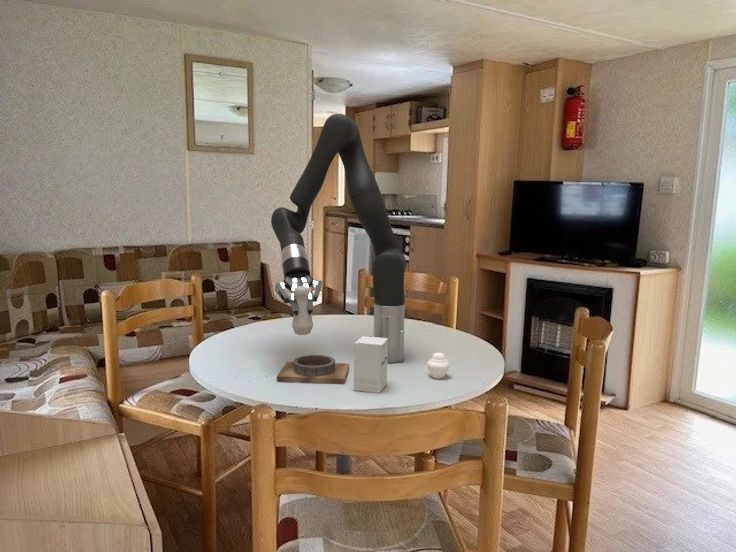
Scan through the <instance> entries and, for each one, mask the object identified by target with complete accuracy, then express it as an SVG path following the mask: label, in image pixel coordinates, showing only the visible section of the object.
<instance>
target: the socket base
mask: <svg viewBox="0 0 736 552" xmlns="http://www.w3.org/2000/svg"><path fill="white" fill-rule="evenodd" d="M348 370H350V363H343V362H336V359H334V358H333V357H331V356H328V355H323V354H308V355H303V356H299V357H296V358H295V359H294V360H293V361H286V362H285V364H284V365H283V367H282V368H281V370H280V371H279V372H278V374H277V375H276V382H277V381H278V382H277V383H295V382H301V383H302V384H327V385H329V384H331V385H345V383H346V380H347V378H348V373H349V371H348Z"/></svg>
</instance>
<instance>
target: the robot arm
mask: <svg viewBox="0 0 736 552" xmlns="http://www.w3.org/2000/svg"><path fill="white" fill-rule="evenodd" d="M354 120H355V119H352V118H351V117H350V116H348V115H346V114H343V113H333V114H331V115H330V116H329V117H327V119H325V122H324V124H323V125H322V128H321V132H320V133H319V137H318V139H317V142H316V145H315V147H314V150H313V152H312V153H311V156H310V158H309V161H308V163H306V164H307V165H306V166H305V169H304V171H303V172H302V174H301V176H300V177H299V179H298V181H297V183H296V184H295V186H294V188H293V190H292V192H291V193H290V195H289V200H290V202H291V203H292V204H293V205H295V206H297V209H296V211H293V210H291V209H289V208H286V207H277V208H276V209H275V210H274V211H273V212H272V213H271V214H272V215H271V219H270V220H271V221H270V223H271V227H272V230H273V232H274V234H275V236H276V238H277V240H278V242H279V247H280V253H281V256H280V257H281V267H282V272H283V281H282V282H275V286H274V291H275V292H276V293H277V294H278V296H279V297H280V299H281V300H282V302H283V303H284V304H289V305H290V306H291V313H292V314H293V315H294V314H295V316H297V315H298V305H297V301H296V296H295V295H294V288H295V287H298V286H306V287H308V288H309V290H310V289H311V287H313V288H314V292H313V294H312V293H311V292H310V293H309V295H308V301H309V302H308V314H309V315H311V316H312V313H313V312H314V304H313V303H314V302H315V303H316V302H317V301H318V299H319V295H320V292H321V290H322V286H323V281H322V280H318V281H316V280H314V278H313V277H312V275H311V269H310V265H309V264H310V263H309V259H308V253H307V251H306V246H305V239H304V238H303V235H302V233H303V232H304V231H305V230H306V229H305V228H306V226H307V222H308V218H309V214H310V211H311V207H312V205H313V204H314V202H315V200H316V199H317V197H318V195H319V193H320V191H321V189H322V188H323V185H324V183H325V179H326V177H327V175H328V174H327V173H328V171H329V168H330V166H331V163H332V162H333V161H334V159H335V158H336V156H337V154H338V155H339V157H340V160H341V163H342V165H343V168H344V174H345V175H344V176H345V182H346V183H345V184H346V189H347V193H348V196H349V197H348V198H349V200H350V203H351V205H352V209H353V210H354V214H355V215H356V218H357V220H358V221H359V222H360V224H361V226H362V228H363V229H364V231H365V233H366V234H367V236H368V237H369V240H370V242H371V245H372V248H373V252H374V254H375V255H374V256H375V259H374V261H373V265H372V294H373V337H380V338H388V359H387V364H395V363H399V362H402V363H403V362H404V357H405V355H404V353H405V352H404V351H405V350H404V349H405V306H406V305H405V304H406V300H405V299H406V295H405V273H406V270H407V266H408V265H407V260H406V259H407V258H406V257H405V256H406V255H404V253H403V250H402V248H401V247H400V245H399V242H398V241H397V238H396V237H395V234H394V231H393V228H392V225H391V222H390V218H389V215H388V211H387V208H386V204H385V202H384V198H383V195H382V192H381V189H380V187H379V185H378V182H377V180H376V177H375V175H374V171H372V169H371V168H372V167H371V166H370V164H369V162H368V160H367V157H366V153H365V150H364V147H363V142H362V139H361V135H360V134H361V133H360V130H359V127H358V125H357V123H356V121H354ZM285 288H286V289H287V290H288V291H289V292H290V296H289V294H288V293H287V291H286V290H285ZM310 291H311V290H310Z"/></svg>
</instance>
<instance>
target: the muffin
mask: <svg viewBox="0 0 736 552" xmlns="http://www.w3.org/2000/svg"><path fill="white" fill-rule="evenodd" d="M426 365H427V369H428V371H429V373H430V375H431V377H432V378H433V379H443V378H445V376H446V374H447V372H448V370H449V368H450V363H449V361H448V360H447V359H446V356H445V354H444V353H443V352H435V353H432V356H431V357H430V359H429V360H428V361H427V362H426Z"/></svg>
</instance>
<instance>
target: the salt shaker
mask: <svg viewBox="0 0 736 552" xmlns="http://www.w3.org/2000/svg"><path fill="white" fill-rule="evenodd" d="M309 293H311V290H309V288H308V287H306V286H298V287H295V288H294V295H295V296H296V301H297V305H298V315H297V316H295V314H293V317H292V324H291V326H292V327H291V328H292V329H293V332H294V334H295V335H298V336H306V335H309V334H311V332H312V330H313V327H314V322H313V317H312V314H311V315H309V314H308V302H309V301H308V295H309Z"/></svg>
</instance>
